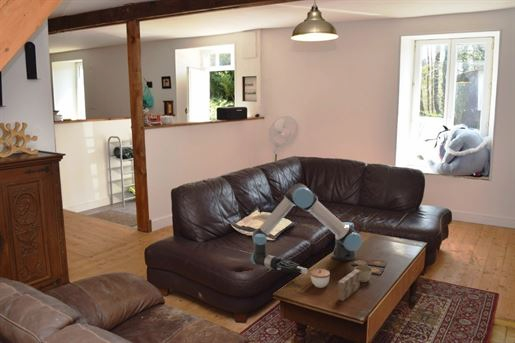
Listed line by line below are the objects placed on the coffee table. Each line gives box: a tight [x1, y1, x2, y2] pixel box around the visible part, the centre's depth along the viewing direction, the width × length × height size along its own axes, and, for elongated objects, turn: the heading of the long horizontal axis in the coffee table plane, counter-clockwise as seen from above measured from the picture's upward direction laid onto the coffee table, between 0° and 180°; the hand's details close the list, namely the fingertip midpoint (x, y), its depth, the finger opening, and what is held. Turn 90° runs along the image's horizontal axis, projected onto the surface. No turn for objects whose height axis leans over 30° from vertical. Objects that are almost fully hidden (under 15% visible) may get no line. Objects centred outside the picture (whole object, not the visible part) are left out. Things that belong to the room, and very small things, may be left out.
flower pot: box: [354, 265, 373, 283], centre depth 260 cm, size 10×10×7 cm
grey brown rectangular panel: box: [337, 268, 361, 302], centre depth 244 cm, size 20×3×10 cm, turn 143°
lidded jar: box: [310, 268, 331, 289], centre depth 255 cm, size 11×11×9 cm
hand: (306, 271), depth 260 cm, fingers closed
